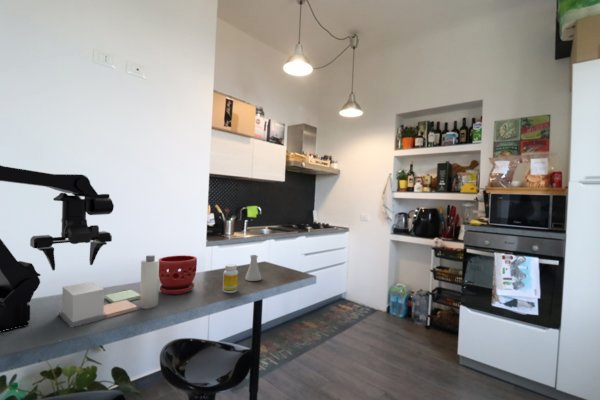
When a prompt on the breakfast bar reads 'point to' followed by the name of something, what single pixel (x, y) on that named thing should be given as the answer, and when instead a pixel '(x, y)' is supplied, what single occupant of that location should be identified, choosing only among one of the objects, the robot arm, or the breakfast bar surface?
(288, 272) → the breakfast bar surface
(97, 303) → the grey unit
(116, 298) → the sage green pad
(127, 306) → the terracotta pad
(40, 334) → the breakfast bar surface
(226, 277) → the supplement bottle
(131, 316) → the breakfast bar surface
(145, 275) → the cream bottle
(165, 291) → the plant pot
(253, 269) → the flask
